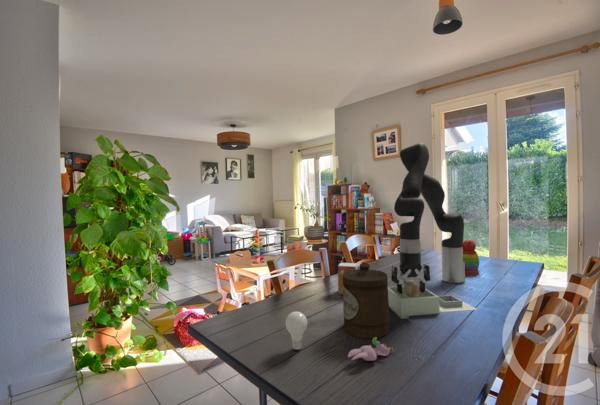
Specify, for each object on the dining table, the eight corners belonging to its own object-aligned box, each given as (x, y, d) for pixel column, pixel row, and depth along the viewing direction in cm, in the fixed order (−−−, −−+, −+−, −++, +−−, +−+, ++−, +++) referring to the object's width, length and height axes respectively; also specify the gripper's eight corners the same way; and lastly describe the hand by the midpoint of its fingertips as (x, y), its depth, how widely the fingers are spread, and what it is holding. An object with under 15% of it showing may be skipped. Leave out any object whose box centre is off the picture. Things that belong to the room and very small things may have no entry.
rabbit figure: (380, 351, 86) (341, 359, 78) (382, 330, 86) (343, 336, 79) (397, 361, 81) (357, 371, 73) (399, 338, 81) (360, 346, 73)
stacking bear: (459, 269, 167) (459, 238, 166) (480, 271, 161) (479, 239, 160) (456, 273, 158) (456, 240, 158) (478, 276, 152) (478, 242, 152)
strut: (414, 305, 114) (413, 279, 114) (419, 309, 110) (419, 283, 110) (404, 306, 113) (403, 280, 113) (409, 310, 110) (408, 283, 109)
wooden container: (341, 319, 106) (340, 258, 105) (383, 318, 105) (381, 257, 104) (347, 339, 91) (345, 269, 90) (395, 338, 90) (393, 267, 90)
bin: (419, 301, 119) (419, 284, 119) (439, 316, 105) (439, 296, 105) (386, 304, 118) (385, 286, 118) (401, 318, 104) (401, 299, 104)
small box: (338, 294, 131) (337, 265, 131) (340, 290, 137) (340, 262, 137) (356, 295, 129) (355, 266, 128) (358, 291, 135) (357, 263, 134)
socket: (454, 298, 122) (454, 291, 122) (477, 312, 108) (477, 304, 108) (422, 300, 121) (421, 293, 120) (441, 314, 107) (441, 306, 106)
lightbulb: (286, 344, 89) (284, 308, 88) (306, 343, 89) (305, 307, 89) (286, 356, 82) (285, 317, 82) (309, 354, 83) (308, 315, 83)
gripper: (423, 247, 116) (423, 288, 116) (388, 249, 114) (388, 290, 115) (433, 251, 108) (434, 294, 109) (396, 253, 107) (397, 297, 107)
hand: (410, 292), depth 112 cm, fingers open, 8 cm apart
